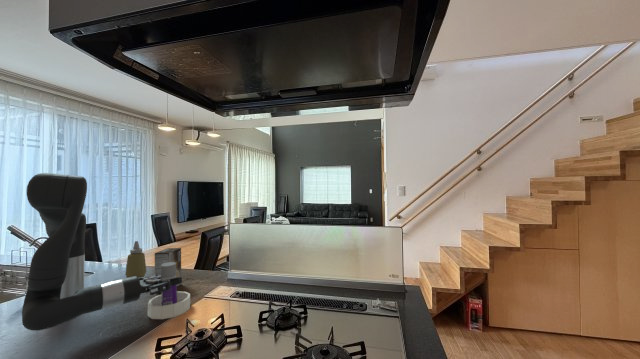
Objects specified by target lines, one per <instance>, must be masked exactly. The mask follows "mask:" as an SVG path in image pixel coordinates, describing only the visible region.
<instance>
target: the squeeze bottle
mask: <svg viewBox="0 0 640 359" xmlns="http://www.w3.org/2000/svg"><path fill="white" fill-rule="evenodd" d="M129 252H130V253H129V254H128V255H127V261H126V266H125V267H126V268H125V274H124V275H125V278H129V277H133V276H137V277H138V278H140V277H145V276H146V274H147V266H146V265H147V264H146V256H145V255H146V254H145V252H143V248H142V247H140V244H139V241H138V240H135V241H134V243H133V247H132V248H131V249H130V250H129Z"/></svg>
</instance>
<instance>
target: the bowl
mask: <svg viewBox="0 0 640 359" xmlns="http://www.w3.org/2000/svg"><path fill="white" fill-rule="evenodd" d="M190 308H191V293H189V292H188V291H179V290H177V303H175V304H170V305H164V306H162V304H161V294H159V295H156V296H154V297H152V298H150V299H149V301H148V302H147V317H148V318H149V319H151V320H165V319H172V318H176V317H178V316H180V315H183V314H186V312H188V310H190Z"/></svg>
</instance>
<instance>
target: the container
mask: <svg viewBox="0 0 640 359" xmlns="http://www.w3.org/2000/svg"><path fill="white" fill-rule="evenodd" d="M173 278H177V275H176V263H175V262H168V263H164V264H162V265H161V279H162V280H168V279H173ZM163 286H166V285H163ZM177 287H178V286H177V285H173V286H170V289H169V290H166V291H163V292H160V295H161V304H162V306H164V305H170V304H175V303H177V291H178V290H177Z"/></svg>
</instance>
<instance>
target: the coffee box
mask: <svg viewBox="0 0 640 359" xmlns="http://www.w3.org/2000/svg"><path fill="white" fill-rule="evenodd" d="M168 262H175V263H176V275H177V277H182V247H172V248H171V247H169V248H168V247H167V248H165V249H162V250H160V251H157V252H154V275H156V274H159V275H161V265H162V264H164V263H168ZM180 285H181V284H177V287H179V286H180Z"/></svg>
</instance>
